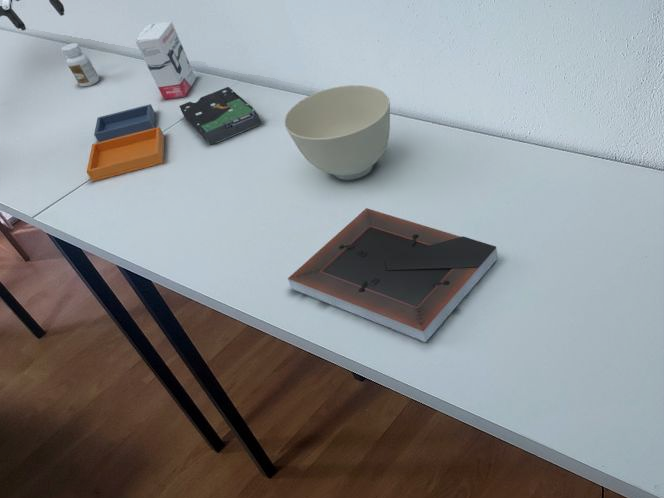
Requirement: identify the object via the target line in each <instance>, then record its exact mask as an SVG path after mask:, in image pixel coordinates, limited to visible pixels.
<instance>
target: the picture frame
mask: <svg viewBox="0 0 664 498" xmlns="http://www.w3.org/2000/svg"><path fill="white" fill-rule="evenodd" d="M498 259H499V258H498V250H497V246H496V245H492V244H489V243H486V242H482V241H479V240H477V239H473V238H470V237H467V236H460V235H456V234H454V233H450V232H448V231H447V232H446V231H443V230H441V229H437V228H434V227H430V226H427V225H423V224H420V223H417V222H414V221H410V220H407V219H404V218H400V217H397V216H393V215H390V214H387V213H384V212H382V211H381V212H380V211H377V210H374V209H370V208H367V207H366V208H365V209H364V210H362V211H361V212H360V213H359V214H358V215H357V216H356V217H354V218H353V219H352V221H350V222H349V223H348V224H347V225H346V226H344V228H342V229H341V230H340V231H339V232H338V233H337V234H336V235H335V236H333V237H332V238H331V239H330V240H329V241H328V242H327V243H325V244H324V245H323V246H322V247H321V248H320V249H319V250H318V251H317V252H316V253H314V254H313V255H312V256H311V257H309V259H308V260H307V261H305V263H304V264H302V265H301V266H300V267H299V268H298V269H296V270H295V271H294V272H293V273H292V274H290V276H289V277H287V281H288V283H289V285H290V287H291V289H292V290H294V291H295V292H298V293H301V294H303V295H306V296H309V297H311V298H314V299H316V300H318V301H321V302H324V303H326V304H329V305H331V306H334V307H336V308H339V309H341V310H344V311H346V312H349V313H351V314H354V315H356V316H359V317H362V318H364V319H366V320H369V321H372V322H374V323H376V324H380V325H381V326H384V327H387V328H389V329H392V330H394V331H396V332H399V333H402V334H404V335H406V336H408V337H409V336H410V337H412V338H414V339H417V340H420V341H421V342H424V343H427V341H428V340H429V339H430V338H431V337H432V335H433V334H434V333H435V332H436V331H437V330H438V328H439V327H440V326H441V325H442V324H443V323H444V321H445V320H446V319H447V318H448V317H449V316H450V315H451V314H452V312H454V310H455V309H456V308H457V306H459V304H460V303H462V301H463V300H464V298H465V297H466V296H467V295H468V294H469V292H470V291H471V290H472V289H473V288H474V287H475V285H477V283H478V282H479V281H480V280H481V279H482V277H484V275H485V273H487V272H488V270H489V269H490V268H491V267H492V266H493V265H494V263H496V261H497V260H498Z"/></svg>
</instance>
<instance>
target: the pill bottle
mask: <svg viewBox="0 0 664 498" xmlns="http://www.w3.org/2000/svg"><path fill="white" fill-rule="evenodd" d="M61 52H62V53H63V55H64V56H65V57H66V60H65V61H66V64H67V66H68V68H69V69H70V71H71V73H72V75H73V77H74V79H75V80H76V81H77V83H78V85H79V86H81V87H90V86H93V85H95V84H96V83H98V82H99V81H100V76H99V74H98V72H97V71H96V69H95V67H94V65H93V63H92V62H91V60H90V58H89V56H88V55H87V54H86V53H85V52H82V49H81V46H80V45H79V43H78V42H75V43H69V44H65V45H64V46H62V48H61Z"/></svg>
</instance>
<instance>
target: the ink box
mask: <svg viewBox="0 0 664 498" xmlns="http://www.w3.org/2000/svg"><path fill="white" fill-rule="evenodd" d="M135 44H136V46H137V48H138V50H139V52H140V54H141V56H142V59H143V60H144V61H145V64H146V66H147V68H148V70H149V72H150V74H151V76H152V78H153V80H154V82H155V84H156V86H157V88H158V90H159V93H160V94H161V96H162V98H163V100H170V99H177V98H184V97H187V95H188V93H189V91H190V90H191V88H192V86H193V85H194V83H195V81H196V79H197V77H196V75H195V73H194V69H193V67H192V65H191V63H190V60H189V58H188V56H187V53H186V51H185V49H184V46H183V44H182V42H181V40H180V38H179V35H178V33H177V31H176V28H175V26H174V24H173V22H172V21H165V22H151V23H148V24H147V25H146V26H145V27H144V28H143V30H141V32H140V33H139V35H138V36H137V38H136V40H135Z"/></svg>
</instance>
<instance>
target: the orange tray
mask: <svg viewBox="0 0 664 498" xmlns="http://www.w3.org/2000/svg"><path fill="white" fill-rule="evenodd" d="M88 157H89V158H88V162H87V168H86V174H87V175H88V177H89V178H90V180H91V181H92V182H97V181H100V180H105V179H108V178H112V177H116V176H120V175H123V174H124V175H125V174H127V173H131V172H134V171H139V170H142V169H146V168H151V167H154V166H157V165H158V166H159V165H161V164H164V161H165V159H164V158H165V135H164V132H163V130H162V129H161V126H158V127H154V128H153V129H149V130H145V131H141V132H137V133H133V134H129V135H125V136H121V137H118V138H114V139H110V140H106V141H102V142H98V141H97V142H95V143H92V144H91V148H90V151H89V156H88Z"/></svg>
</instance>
